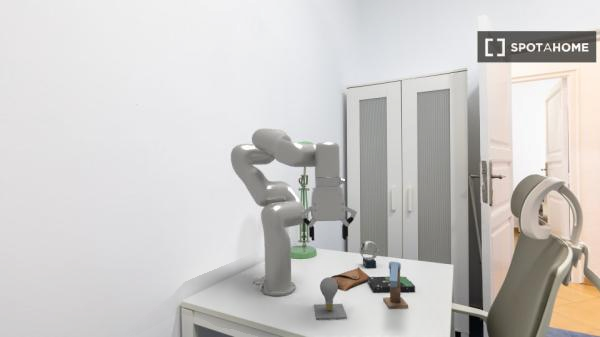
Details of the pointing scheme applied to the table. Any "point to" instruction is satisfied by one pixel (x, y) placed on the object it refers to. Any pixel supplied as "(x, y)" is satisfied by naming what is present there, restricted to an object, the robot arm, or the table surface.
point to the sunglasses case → (350, 279)
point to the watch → (370, 261)
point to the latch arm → (394, 273)
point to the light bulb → (329, 291)
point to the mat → (329, 312)
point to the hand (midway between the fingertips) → (328, 239)
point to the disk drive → (384, 285)
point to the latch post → (395, 297)
